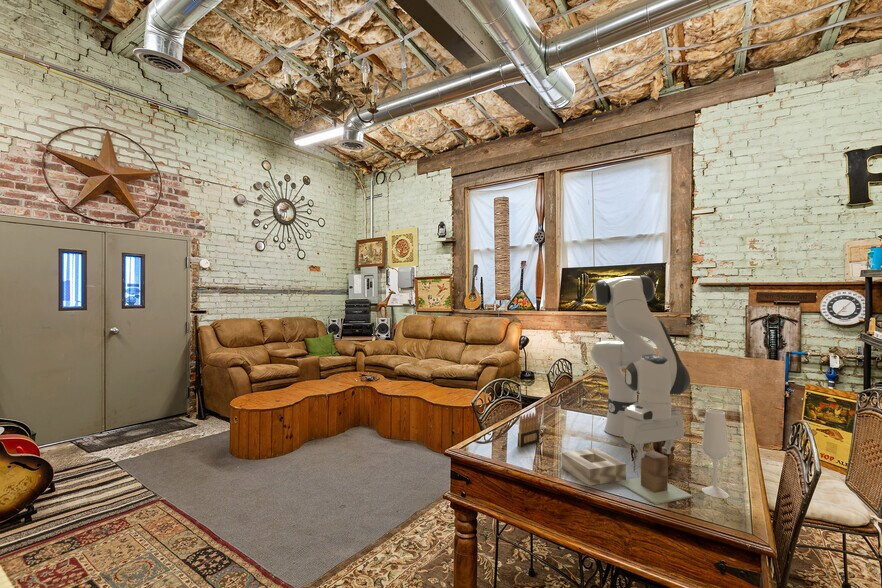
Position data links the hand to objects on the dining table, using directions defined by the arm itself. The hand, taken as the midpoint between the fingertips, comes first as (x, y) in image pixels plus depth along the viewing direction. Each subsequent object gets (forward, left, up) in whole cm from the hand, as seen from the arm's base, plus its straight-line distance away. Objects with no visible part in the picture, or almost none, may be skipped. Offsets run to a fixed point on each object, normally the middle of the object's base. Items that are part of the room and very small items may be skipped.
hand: (654, 455), depth 122 cm
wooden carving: (-17, -12, -11) cm, 23 cm away
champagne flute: (-16, +7, -10) cm, 20 cm away
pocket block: (+10, -15, -10) cm, 21 cm away
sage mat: (0, 0, -10) cm, 10 cm away
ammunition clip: (+16, -45, -11) cm, 49 cm away
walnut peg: (0, 0, -10) cm, 10 cm away
